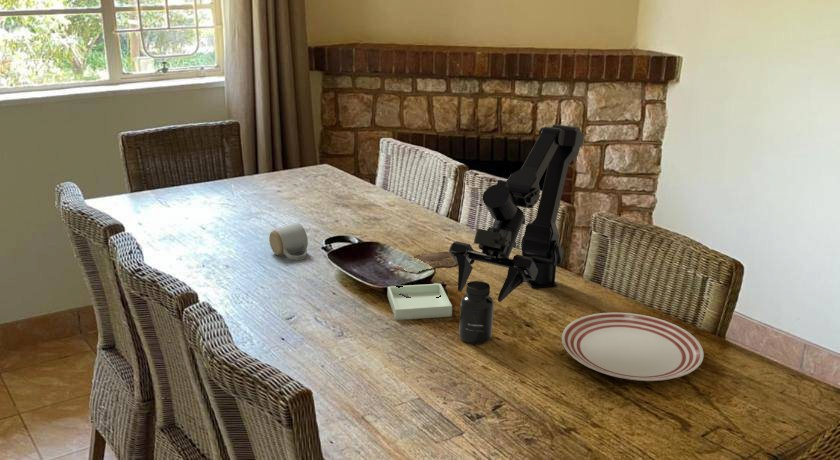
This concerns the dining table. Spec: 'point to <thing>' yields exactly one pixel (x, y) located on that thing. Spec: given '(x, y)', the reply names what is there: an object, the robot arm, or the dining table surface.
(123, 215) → the dining table surface
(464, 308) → the supplement bottle
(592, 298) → the dining table surface
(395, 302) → the tray
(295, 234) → the ceramic mug
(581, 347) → the dinner plate
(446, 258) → the wooden fragment
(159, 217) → the dining table surface
